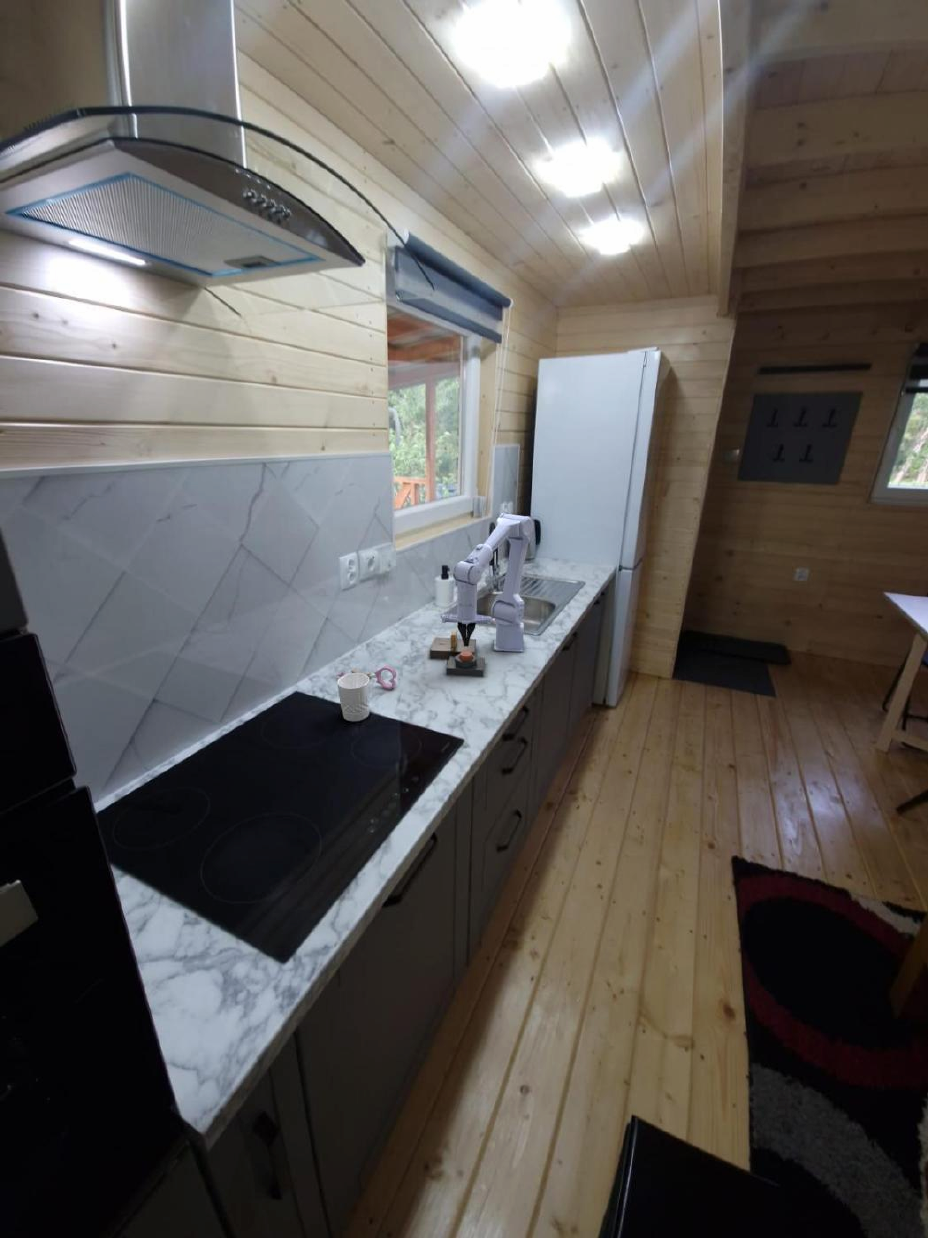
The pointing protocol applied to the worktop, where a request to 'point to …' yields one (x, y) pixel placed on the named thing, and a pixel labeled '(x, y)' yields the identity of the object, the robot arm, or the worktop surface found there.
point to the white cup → (354, 696)
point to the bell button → (466, 656)
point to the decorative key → (378, 676)
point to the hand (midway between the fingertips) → (466, 645)
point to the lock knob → (453, 638)
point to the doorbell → (465, 666)
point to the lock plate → (450, 648)
